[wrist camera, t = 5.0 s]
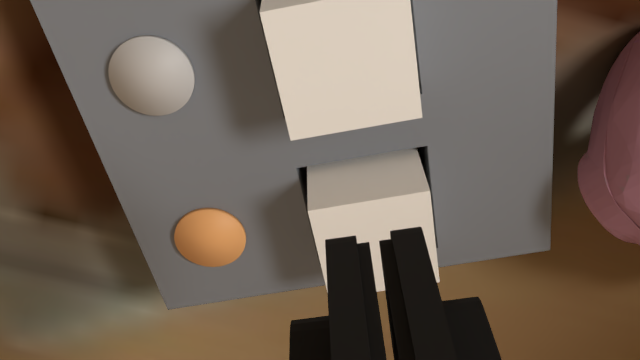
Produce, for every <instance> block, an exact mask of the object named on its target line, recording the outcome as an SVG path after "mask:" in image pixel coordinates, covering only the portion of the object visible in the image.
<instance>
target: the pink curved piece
mask: <svg viewBox="0 0 640 360" xmlns="http://www.w3.org/2000/svg"><path fill="white" fill-rule="evenodd" d="M578 184H579V189H580V191H581V194H582V197H583V199H584V201H585V203H586V205H587V206H588V208H589V209H590V211H591V212H592V214H593V215H594V216H595V218H596V219H597V220H598V221H599V222H600V223H601V225H602V226H603V227H604V228H605V229H606V230H607V231H608V232H610V233H611V234H612V235H614V236H615V237H617V238H618V239H620V240H623V241H625V242H629V243H634V244H638V245H640V31H639V32H638V33H637V34H636V35H635V36H634V37H633V38H632V39H631V40H630V41H629V43H628V44H627V45H626V46H625V48H624V49H623V50H622V51H621V53H620V54H619V56H618V57H617V59H616V61H615V62H614V64H613V65H612V67H611V69H610V71H609V73H608V75H607V78H606V80H605V82H604V84H603V86H602V89H601V92H600V96H599V99H598V102H597V105H596V108H595V111H594V116H593V122H592V128H591V134H590V139H589V145H588V151H587V152H586V153H585V154H584V155H583V156H582V158H581V159H580V161H579V164H578Z"/></svg>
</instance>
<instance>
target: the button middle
mask: <svg viewBox="0 0 640 360" xmlns="http://www.w3.org/2000/svg"><path fill="white" fill-rule="evenodd" d="M260 17H261V21H262V25H263V29H264V33H265V37H266V41H267V45H268V50H269V54H270V58H271V62H272V66H273V70H274V74H275V78H276V83H277V87H278V91H279V95H280V99H281V103H282V107H283V111H284V116H285V120H286V124H287V128H288V132H289V136H290V140H291V141H293V140H298V139H304V138H310V137H315V136H321V135H327V134H332V133H338V132H344V131H350V130H355V129H361V128H367V127H372V126H378V125H384V124H390V123H395V122H401V121H407V120H412V119H418V118H423V117H422V108H421V98H420V89H419V79H418V69H417V60H416V50H415V41H414V31H413V22H412V12H411V2H410V0H262V1H261V7H260Z"/></svg>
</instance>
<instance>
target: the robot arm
mask: <svg viewBox="0 0 640 360" xmlns="http://www.w3.org/2000/svg"><path fill="white" fill-rule="evenodd" d="M390 238H391V239H388V240H380V241H379V245H380V253H381V261H382V269H383V276H384V284H385V292H386V300H387V308H388V316H389V323H390V331H391V339H392V347H393V354H394V360H501V357H500V354H499V351H498V348H497V345H496V342H495V339H494V337H493V334H492V331H491V328H490V325H489V322H488V319H487V316H486V314H485V311H484V308H483V305H482V303H481V300H480V299H479V298H478V297H472V298H464V299H456V300H448V301H442V300H441V297H440V293H439V289H438V285H437V282H436V278H435V274H434V271H433V267H432V263H431V260H430V256H429V252H428V248H427V245H426V241H425V237H424V234H423V230H422V228H421V227H414V228H407V229H399V230H392V231H390ZM325 249H326V269H327V289H328V308H329V316H323V317H316V318H308V319H300V320H292V321H291V325H290V356H289V360H386V353H385V346H384V340H383V333H382V326H381V319H380V312H379V306H378V299H377V292H376V285H375V278H374V272H373V265H372V258H371V251H370V244H369V242H366V243H358V244H357V239H356V235H355V236H348V237H341V238H333V239H326V240H325Z"/></svg>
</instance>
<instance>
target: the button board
mask: <svg viewBox="0 0 640 360" xmlns="http://www.w3.org/2000/svg"><path fill="white" fill-rule="evenodd" d="M30 1H31V4H32V6H33V8H34V10H35V13H36V15H37V17H38V19H39V22H40V24H41V26H42V28H43V31H44V33H45V35H46V37H47V40H48V42H49V44H50V46H51V49H52V51H53V53H54V55H55V57H56V60H57V62H58V64H59V66H60V69H61V71H62V73H63V75H64V78H65V80H66V82H67V84H68V87H69V89H70V91H71V93H72V96H73V98H74V100H75V102H76V105H77V107H78V109H79V111H80V114H81V116H82V118H83V120H84V122H85V125H86V127H87V129H88V131H89V134H90V136H91V138H92V140H93V143H94V145H95V147H96V149H97V152H98V154H99V156H100V158H101V161H102V163H103V165H104V167H105V170H106V172H107V174H108V176H109V179H110V181H111V183H112V185H113V188H114V190H115V192H116V194H117V196H118V199H119V201H120V203H121V205H122V208H123V210H124V212H125V214H126V217H127V219H128V221H129V223H130V226H131V228H132V230H133V232H134V235H135V237H136V239H137V241H138V244H139V246H140V248H141V250H142V253H143V255H144V257H145V259H146V261H147V264H148V266H149V268H150V270H151V273H152V275H153V277H154V279H155V282H156V284H157V286H158V288H159V291H160V293H161V295H162V297H163V300H164V302H165V304H166V306H167V309H168V310H169V309H175V308H182V307H188V306H194V305H201V304H207V303H214V302H220V301H226V300H233V299H239V298H246V297H252V296H258V295H265V294H271V293H278V292H284V291H291V290H297V289H303V288H310V287H316V286H323V285H325V280H324V276H323V272H322V268H321V264H320V260H319V256H318V252H317V247H316V243H315V239H314V235H313V231H312V227H311V223H310V219H309V214H308V200H307V173H306V169H305V167H306V166H312V165H318V164H324V163H329V162H335V161H341V160H347V159H353V158H358V157H364V156H370V155H376V154H382V153H388V152H393V151H399V150H405V149H411V148H417V147H419V150H420V159H421V163H422V167H423V170H424V173H425V176H426V179H427V182H428V185H429V189H430V194H431V204H432V213H433V223H434V232H435V242H436V251H437V261H438V267H445V266H451V265H457V264H464V263H470V262H477V261H483V260H489V259H496V258H502V257H509V256H515V255H521V254H528V253H534V252H541V251H547V250H550V244H551V208H552V172H553V136H554V100H555V63H556V27H557V0H410V2H411V12H412V22H413V31H414V41H415V50H416V60H417V69H418V79H419V89H420V98H421V108H422V117H423V118H418V119H412V120H407V121H401V122H395V123H390V124H384V125H378V126H372V127H367V128H361V129H355V130H350V131H344V132H338V133H332V134H327V135H321V136H315V137H310V138H304V139H298V140H293V141H291V140H290V136H289V132H288V128H287V124H286V120H285V116H284V111H283V107H282V103H281V99H280V95H279V91H278V87H277V83H276V78H275V74H274V70H273V66H272V62H271V58H270V54H269V50H268V45H267V41H266V37H265V33H264V29H263V25H262V21H261V17H260V7H261V1H262V0H30Z"/></svg>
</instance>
